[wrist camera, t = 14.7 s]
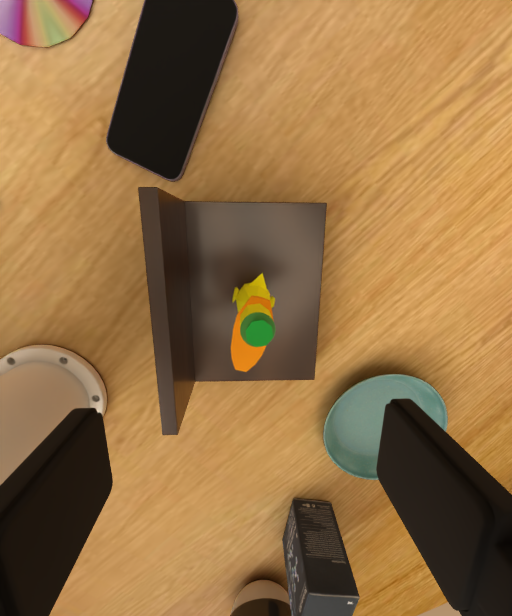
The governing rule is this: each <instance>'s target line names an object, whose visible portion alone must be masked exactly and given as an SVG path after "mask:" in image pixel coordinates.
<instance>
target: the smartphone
mask: <svg viewBox="0 0 512 616" xmlns="http://www.w3.org/2000/svg"><path fill="white" fill-rule="evenodd" d="M237 24H238V8H237V5H236V3H235V1H234V0H145V1H144V4H143V8H142V11H141V15H140V18H139V22H138V26H137V29H136V33H135V36H134V40H133V43H132V47H131V51H130V54H129V58H128V61H127V65H126V68H125V72H124V76H123V79H122V83H121V86H120V90H119V93H118V97H117V101H116V104H115V108H114V111H113V115H112V118H111V122H110V126H109V129H108V133H107V137H106V142H107V146H108V148H109V149H110V150H111V151H112V152H113V153H114V154H116V155H118V156H120V157H122V158H124V159H126V160H128V161H130V162H132V163H134V164H136V165H138V166H140V167H142V168H144V169H146V170H148V171H150V172H152V173H154V174H156V175H158V176H160V177H162V178H164V179H166V180H169V181H178V180H179V179H180V178H181V177H182V176H183V173H184V171H185V168H186V165H187V162H188V160H189V157H190V154H191V151H192V149H193V146H194V143H195V140H196V138H197V135H198V132H199V129H200V127H201V124H202V121H203V118H204V115H205V113H206V110H207V107H208V104H209V102H210V99H211V96H212V93H213V91H214V88H215V85H216V82H217V80H218V77H219V74H220V71H221V69H222V66H223V63H224V60H225V58H226V55H227V52H228V49H229V46H230V44H231V41H232V38H233V35H234V33H235V30H236V27H237Z"/></svg>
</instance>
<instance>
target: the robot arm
mask: <svg viewBox="0 0 512 616" xmlns="http://www.w3.org/2000/svg"><path fill="white" fill-rule="evenodd" d="M106 406H107V394H106V389H105V386H104V383H103V381H102V379H101V378H100V376H99V374H98V373H97V372H96V370H95V369H94V368H93V367H92V366H91V365H90V364H89V363H88V362H87V361H86V360H85V359H83V358H82V357H80V356H78V355H77V354H75V353H74V352H71V351H69V350H66V349H64V348H61V347H56V346H52V345H30V346H26V347H23V348H19V349H17V350H15V351H13V352H11V353H9V354H8V355H6V356H5V357H3V358H2V359H0V616H49V614H50V612H51V610H52V608H53V606H54V604H55V602H56V600H57V598H58V596H59V594H60V592H61V590H62V588H63V586H64V584H65V582H66V580H67V578H68V576H69V574H70V572H71V570H72V568H73V566H74V564H75V562H76V560H77V558H78V556H79V554H80V552H81V550H82V548H83V546H84V544H85V542H86V540H87V538H88V536H89V534H90V532H91V530H92V528H93V526H94V524H95V522H96V520H97V518H98V516H99V514H100V512H101V510H102V508H103V506H104V504H105V502H106V500H107V498H108V496H109V494H110V492H111V489H112V483H113V480H112V473H111V467H110V460H109V454H108V448H107V441H106V435H105V429H104V422H103V416H104V414H105V411H106ZM376 471H377V476H378V479H379V481H380V483H381V485H382V487H383V488H384V490H385V492H386V494H387V495H388V497H389V499H390V501H391V502H392V504H393V506H394V508H395V509H396V511H397V513H398V515H399V516H400V518H401V520H402V522H403V523H404V525H405V527H406V529H407V530H408V532H409V534H410V536H411V537H412V539H413V541H414V543H415V545H416V546H417V548H418V550H419V552H420V553H421V555H422V557H423V559H424V560H425V562H426V564H427V566H428V567H429V569H430V571H431V573H432V574H433V576H434V578H435V580H436V581H437V583H438V585H439V587H440V588H441V590H442V592H443V594H444V595H445V597H446V599H447V601H448V602H449V604H450V605H451V606H452V607H453V609H455V610H459V612H460V614H461V615H462V616H512V495H511V494H510V493H509V492H508V491H507V490H506V489H505V488H504V487H503V486H502V485H501V484H500V483H499V482H498V481H497V480H496V479H495V478H493V477H492V476H491V475H490V474H489V473H488V472H487V471H486V470H485V469H484V468H483V467H482V466H481V465H480V464H479V463H478V462H477V461H476V460H475V459H474V458H473V457H471V456H470V455H469V454H468V453H467V452H466V451H465V450H464V449H463V448H462V447H461V446H460V445H459V444H458V443H457V442H456V441H455V440H454V439H453V438H452V437H451V436H449V435H448V434H447V433H446V432H445V431H444V430H443V429H442V428H441V427H440V426H439V425H438V424H437V423H436V422H435V421H434V420H433V419H432V418H431V417H430V416H429V415H428V414H426V413H425V412H424V411H423V410H422V409H421V408H420V407H419V406H418V405H417V404H416V403H415V402H414V401H413V400H411V399H409V398H404V399H392V400H391V401H390V403H388V404H386V406H385V411H384V418H383V425H382V432H381V439H380V446H379V453H378V460H377V467H376Z"/></svg>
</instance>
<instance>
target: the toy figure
mask: <svg viewBox="0 0 512 616" xmlns="http://www.w3.org/2000/svg"><path fill="white" fill-rule="evenodd" d="M235 300H236V303H237V310H238V312H239V313H238V314H237V316H236V320H235V324H234V328H233V334H232V342H231V356H232V361H233V365H234V368H235V370H239V371H243V372H247V371H248V370H249V369H250V368H252V367H253V366H254V365H255V364H256V363H257V361H258V360H259V359H260V357H261V356H262V354H263V352H264V350H265V348H266V345H267V344H268V343H269V342H271V341H272V339H273V338H274V335H275V331H276V329H275V324H274V320H273V314H272V308H273V307H274V304H275V298H274V297H273V296H271V297H270V293H269V291H268V289H267V288H266V284H265V280H264V277H263V273H262V274H261V275H259V276H258V277H257V278H256V279H255V280H254V281H253V282H252V283H246V284H244V285H243V286H242V288H241V289H240V290H239V289H238V288H237V287H235V289H234V293H233V298H232V302H234V301H235Z"/></svg>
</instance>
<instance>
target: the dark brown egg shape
mask: <svg viewBox="0 0 512 616" xmlns="http://www.w3.org/2000/svg"><path fill="white" fill-rule="evenodd" d="M230 616H291V608H290V600H289V595H288V593H287V592H286V591H285V589H284V588H283V587H282V586H280V585H279V584H277V583H275V582H273V581H270V580H257V581H254V582H251V583H249V584H248V585H246V586H245V587H244V588H243V589H242V590H241V591H240V593H239V594H238V596H237V597H236V599H235V602H234V604H233V607H232V611H231V615H230Z"/></svg>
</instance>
